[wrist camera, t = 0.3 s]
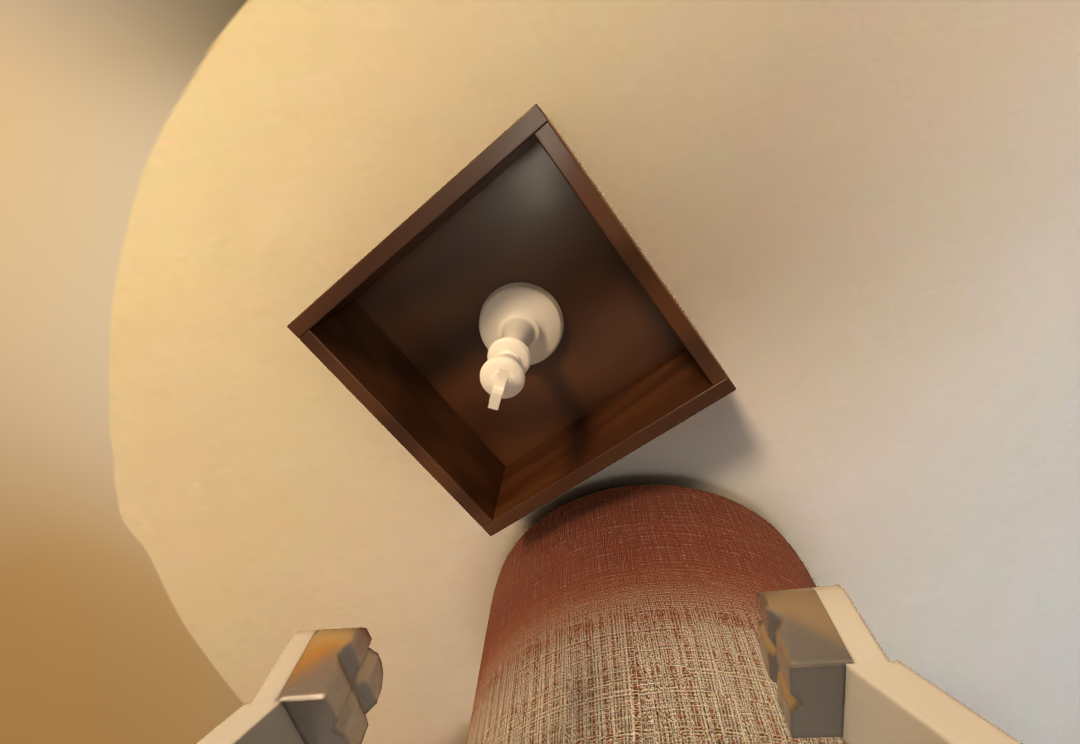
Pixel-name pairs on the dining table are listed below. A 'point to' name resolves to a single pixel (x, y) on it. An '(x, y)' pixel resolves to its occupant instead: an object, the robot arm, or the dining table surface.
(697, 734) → the planter
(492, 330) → the chess piece
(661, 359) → the crate
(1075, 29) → the dining table surface
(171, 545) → the dining table surface
